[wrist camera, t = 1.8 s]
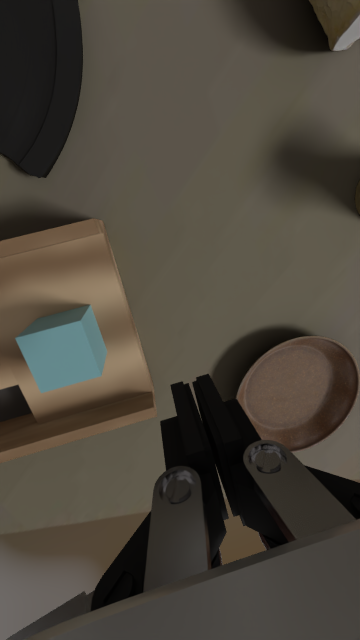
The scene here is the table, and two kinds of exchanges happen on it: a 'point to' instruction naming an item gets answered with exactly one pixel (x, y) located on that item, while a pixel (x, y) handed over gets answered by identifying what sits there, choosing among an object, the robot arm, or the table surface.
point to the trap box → (54, 297)
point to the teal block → (63, 348)
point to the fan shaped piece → (38, 80)
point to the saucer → (300, 391)
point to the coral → (339, 21)
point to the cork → (357, 197)
